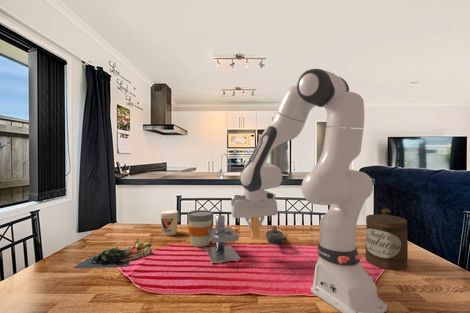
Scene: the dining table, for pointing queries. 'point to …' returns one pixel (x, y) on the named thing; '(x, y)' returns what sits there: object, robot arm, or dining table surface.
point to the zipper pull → (275, 236)
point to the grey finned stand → (222, 242)
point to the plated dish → (117, 256)
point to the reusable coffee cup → (199, 227)
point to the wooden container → (386, 240)
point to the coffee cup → (169, 222)
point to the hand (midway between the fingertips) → (254, 226)
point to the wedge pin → (254, 227)
